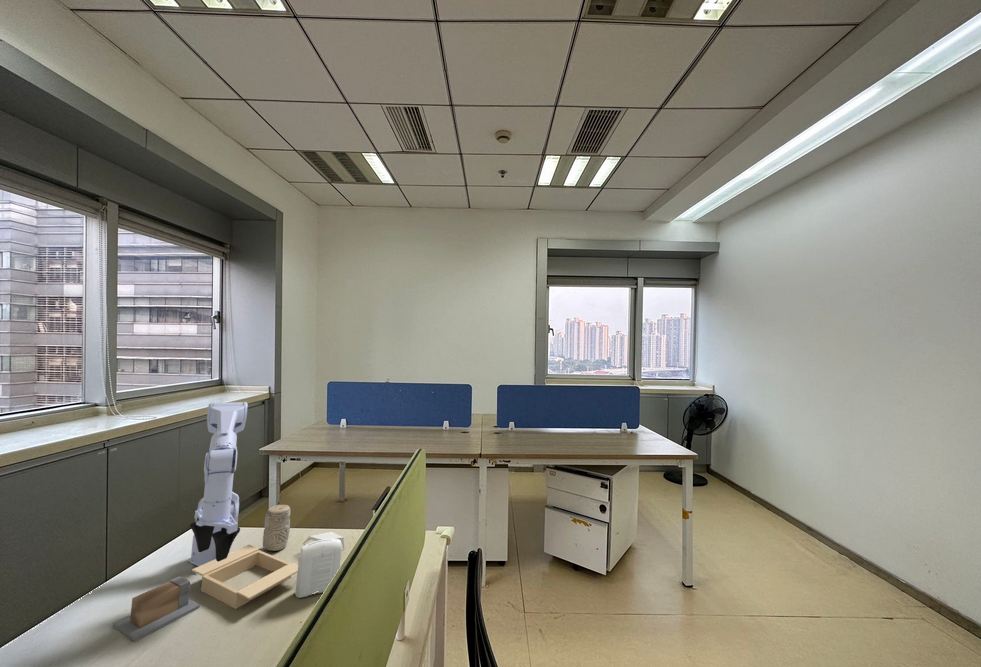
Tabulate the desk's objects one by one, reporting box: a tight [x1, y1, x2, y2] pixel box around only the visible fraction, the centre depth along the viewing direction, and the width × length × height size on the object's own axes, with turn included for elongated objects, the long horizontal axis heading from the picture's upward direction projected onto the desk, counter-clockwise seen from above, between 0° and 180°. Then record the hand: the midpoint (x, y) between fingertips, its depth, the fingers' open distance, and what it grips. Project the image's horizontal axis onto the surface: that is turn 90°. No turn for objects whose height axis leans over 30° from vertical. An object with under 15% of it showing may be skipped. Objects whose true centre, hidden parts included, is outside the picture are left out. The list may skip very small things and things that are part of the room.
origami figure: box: [302, 530, 345, 552], centre depth 116 cm, size 12×8×5 cm
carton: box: [191, 544, 298, 610], centre depth 99 cm, size 22×15×4 cm, turn 65°
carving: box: [262, 504, 291, 552], centre depth 117 cm, size 6×8×12 cm
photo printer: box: [295, 539, 343, 598], centre depth 99 cm, size 10×4×12 cm, turn 123°
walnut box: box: [130, 575, 191, 628], centre depth 86 cm, size 4×9×5 cm, turn 155°
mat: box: [112, 598, 201, 643], centre depth 86 cm, size 9×12×1 cm
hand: (212, 554), depth 95 cm, fingers open, 7 cm apart
